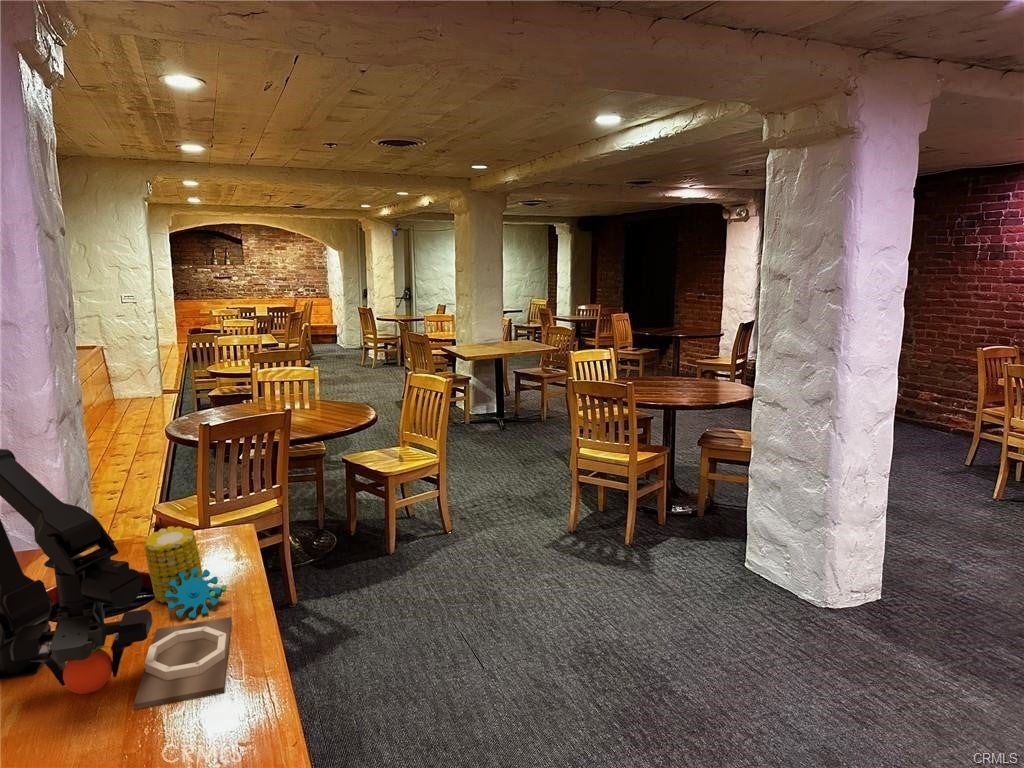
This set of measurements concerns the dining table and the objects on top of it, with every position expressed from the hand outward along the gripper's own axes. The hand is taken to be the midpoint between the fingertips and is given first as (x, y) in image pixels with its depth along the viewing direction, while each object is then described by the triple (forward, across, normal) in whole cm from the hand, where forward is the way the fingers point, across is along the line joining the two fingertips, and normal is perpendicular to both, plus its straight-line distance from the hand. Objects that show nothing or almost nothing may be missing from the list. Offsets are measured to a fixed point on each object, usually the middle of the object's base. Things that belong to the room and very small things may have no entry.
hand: (90, 679), depth 109 cm
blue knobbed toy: (+2, +14, +21) cm, 25 cm away
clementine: (+2, 0, 0) cm, 2 cm away
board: (+1, +14, +3) cm, 15 cm away
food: (+2, +10, +28) cm, 29 cm away
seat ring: (+1, +14, +3) cm, 15 cm away
